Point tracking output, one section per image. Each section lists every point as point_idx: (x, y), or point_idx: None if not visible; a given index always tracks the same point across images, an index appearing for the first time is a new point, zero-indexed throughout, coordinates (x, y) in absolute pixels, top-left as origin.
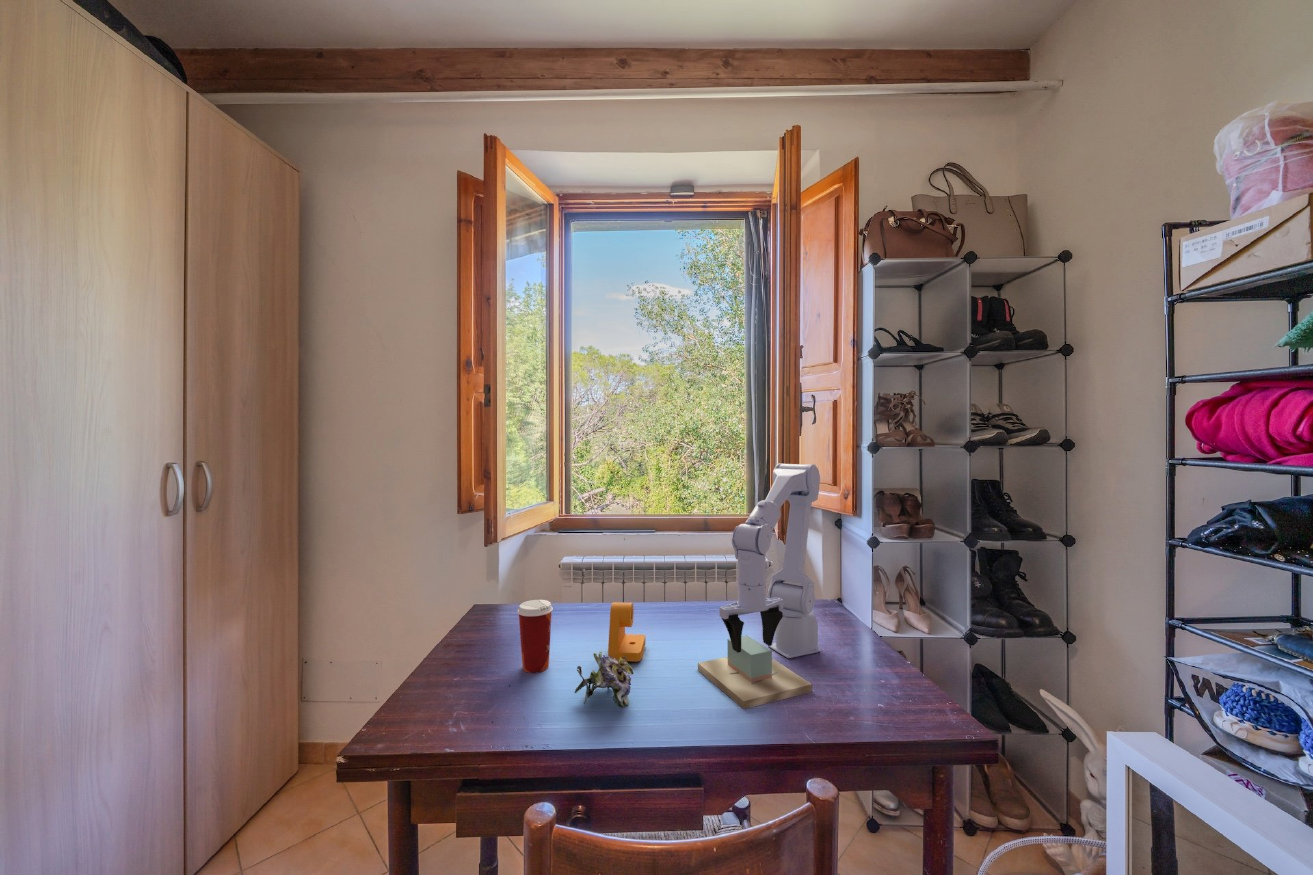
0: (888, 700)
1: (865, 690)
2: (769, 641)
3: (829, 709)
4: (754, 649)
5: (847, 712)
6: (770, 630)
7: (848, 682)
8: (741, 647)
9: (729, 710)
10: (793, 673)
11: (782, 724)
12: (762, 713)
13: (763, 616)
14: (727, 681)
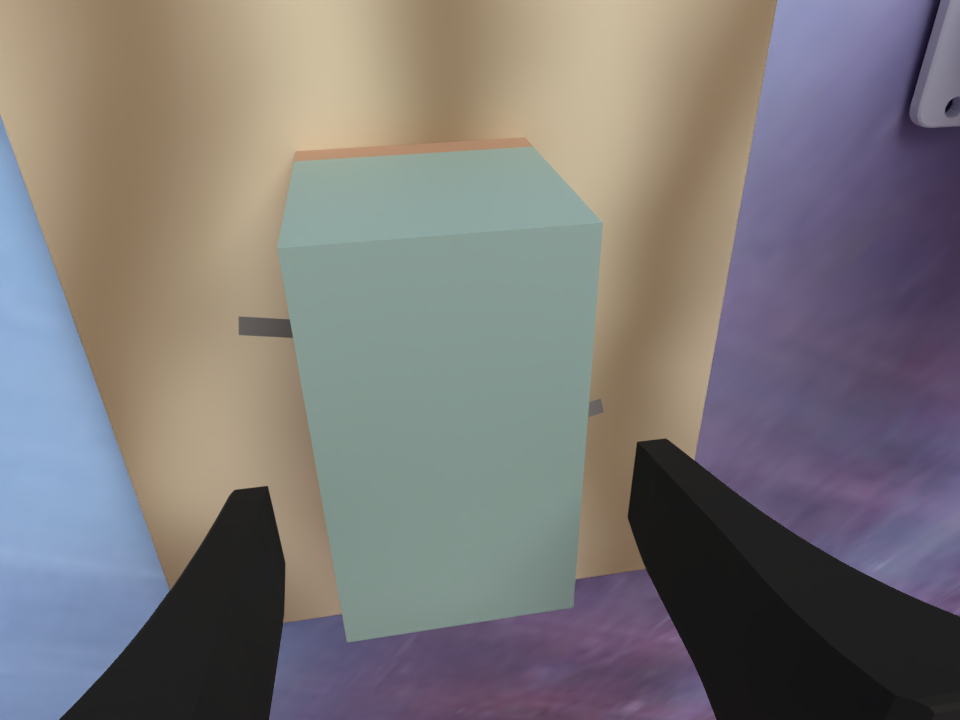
0: None
1: (880, 569)
2: (642, 559)
3: (603, 656)
4: (442, 562)
5: (650, 680)
6: (702, 660)
7: (895, 498)
8: (336, 504)
9: (104, 593)
10: (685, 443)
11: (328, 709)
12: (281, 638)
13: (802, 687)
14: (169, 426)
